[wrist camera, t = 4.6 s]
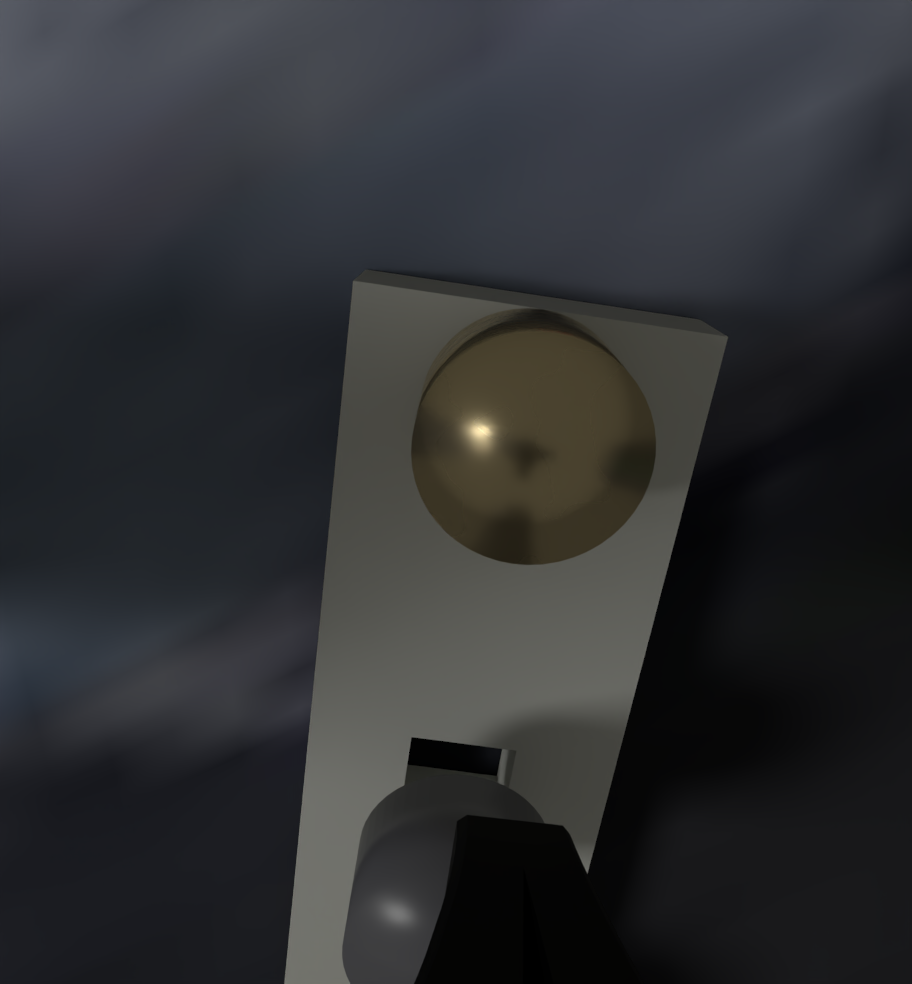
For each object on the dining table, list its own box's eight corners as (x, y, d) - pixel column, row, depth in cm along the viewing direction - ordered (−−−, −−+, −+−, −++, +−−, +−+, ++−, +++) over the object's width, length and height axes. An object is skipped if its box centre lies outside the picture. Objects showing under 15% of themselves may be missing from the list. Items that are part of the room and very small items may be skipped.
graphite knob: (331, 785, 19) (296, 939, 15) (475, 696, 18) (476, 836, 14) (439, 896, 20) (432, 1064, 16) (579, 817, 19) (607, 976, 15)
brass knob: (385, 375, 17) (361, 430, 13) (543, 255, 16) (566, 278, 13) (497, 518, 18) (504, 605, 15) (652, 413, 17) (702, 479, 14)
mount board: (365, 269, 17) (353, 280, 15) (700, 319, 17) (728, 336, 15) (289, 1018, 25) (274, 1087, 23) (519, 1045, 25) (523, 1116, 23)
